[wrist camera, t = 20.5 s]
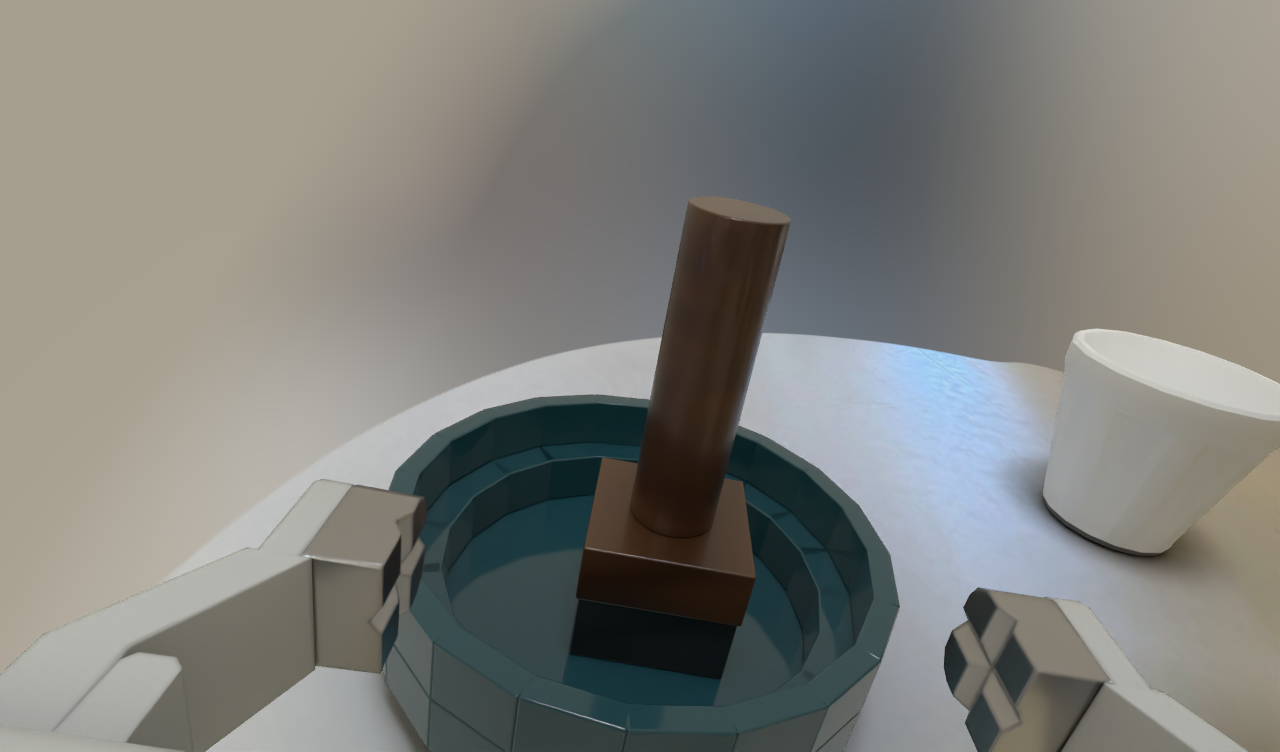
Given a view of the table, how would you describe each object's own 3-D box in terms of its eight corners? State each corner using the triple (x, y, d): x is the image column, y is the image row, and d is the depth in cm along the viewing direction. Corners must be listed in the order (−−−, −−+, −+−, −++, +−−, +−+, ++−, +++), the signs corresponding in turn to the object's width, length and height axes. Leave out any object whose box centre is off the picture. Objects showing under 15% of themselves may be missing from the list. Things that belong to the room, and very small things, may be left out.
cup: (1239, 616, 32) (1359, 444, 28) (1008, 534, 35) (1088, 369, 31) (1181, 509, 41) (1267, 366, 37) (1000, 451, 44) (1061, 313, 40)
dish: (258, 752, 19) (245, 614, 17) (497, 455, 34) (505, 363, 32) (871, 956, 17) (942, 829, 15) (838, 545, 32) (871, 453, 30)
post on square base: (565, 656, 22) (638, 211, 16) (586, 552, 27) (649, 176, 21) (724, 683, 23) (855, 250, 17) (718, 574, 27) (817, 207, 21)
